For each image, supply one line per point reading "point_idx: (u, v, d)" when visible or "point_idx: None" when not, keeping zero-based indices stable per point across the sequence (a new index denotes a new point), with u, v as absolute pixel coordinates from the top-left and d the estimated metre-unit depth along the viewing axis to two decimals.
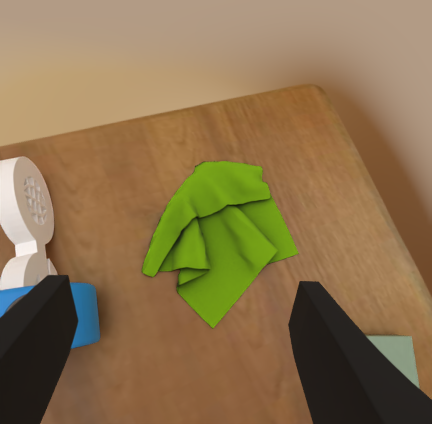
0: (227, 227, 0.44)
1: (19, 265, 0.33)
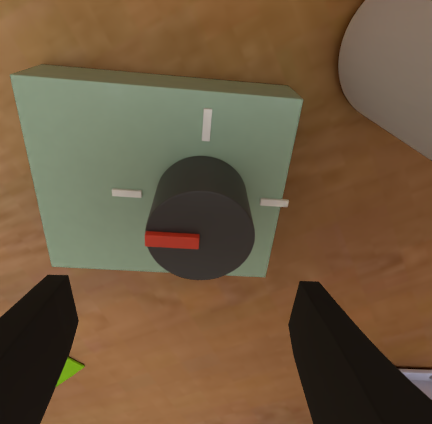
0: None
1: None
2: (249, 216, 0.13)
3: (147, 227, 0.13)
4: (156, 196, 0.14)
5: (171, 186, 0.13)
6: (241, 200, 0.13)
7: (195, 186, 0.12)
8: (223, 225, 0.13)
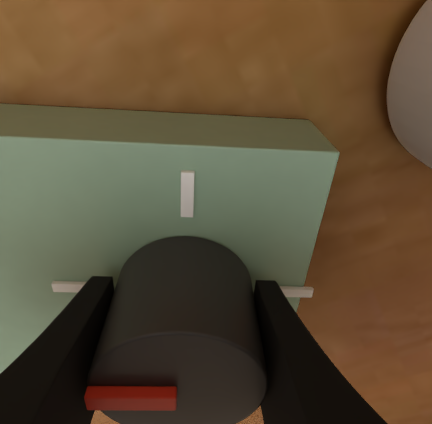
0: None
1: None
2: (259, 361, 0.08)
3: (89, 381, 0.08)
4: (108, 316, 0.09)
5: (128, 310, 0.08)
6: (245, 331, 0.08)
7: (166, 319, 0.07)
8: (216, 374, 0.08)
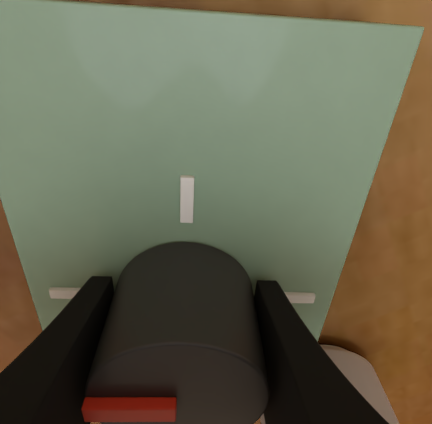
0: None
1: None
2: (260, 371, 0.07)
3: (86, 392, 0.08)
4: (106, 325, 0.08)
5: (125, 319, 0.08)
6: (245, 340, 0.08)
7: (164, 329, 0.07)
8: (216, 384, 0.08)
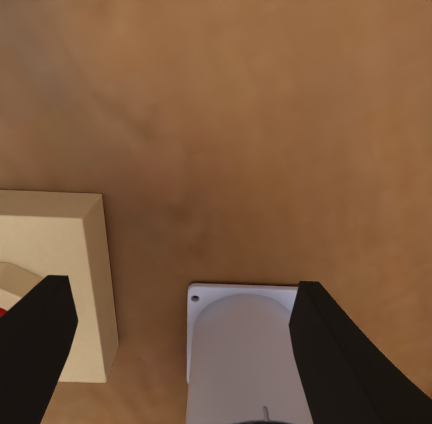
0: None
1: None
2: None
3: None
4: None
5: None
6: None
7: None
8: None
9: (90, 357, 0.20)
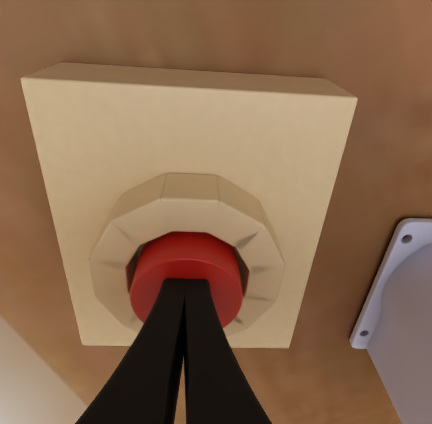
0: None
1: None
2: None
3: None
4: None
5: None
6: None
7: None
8: None
9: (282, 316, 0.15)
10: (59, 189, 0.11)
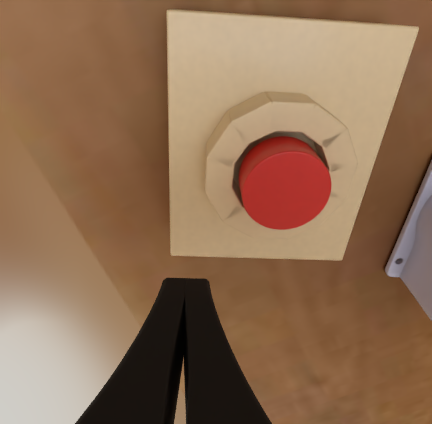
0: None
1: None
2: None
3: None
4: None
5: None
6: None
7: None
8: None
9: (339, 227, 0.18)
10: (178, 106, 0.14)
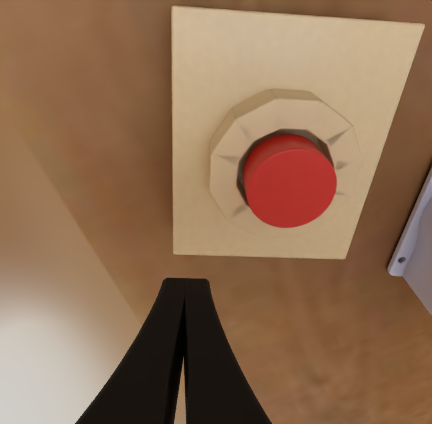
0: None
1: None
2: None
3: None
4: None
5: None
6: None
7: None
8: None
9: (343, 226, 0.18)
10: (183, 103, 0.14)
